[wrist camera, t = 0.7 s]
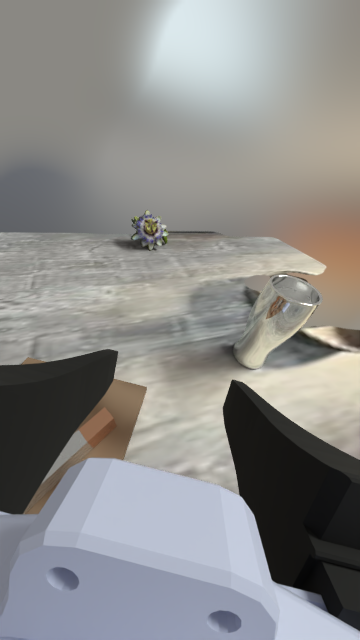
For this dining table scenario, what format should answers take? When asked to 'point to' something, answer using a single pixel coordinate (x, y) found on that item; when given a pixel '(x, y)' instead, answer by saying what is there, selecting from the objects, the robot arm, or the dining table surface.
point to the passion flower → (149, 230)
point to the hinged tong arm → (76, 450)
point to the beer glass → (275, 318)
